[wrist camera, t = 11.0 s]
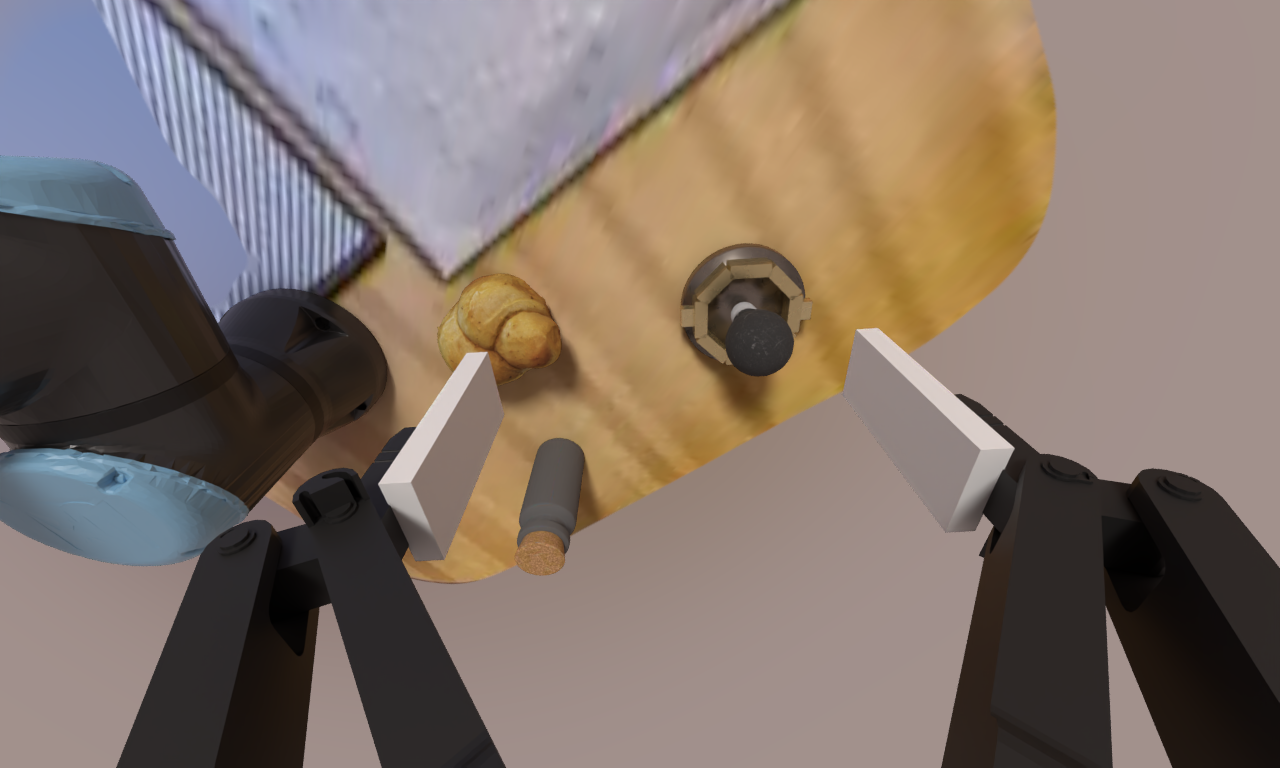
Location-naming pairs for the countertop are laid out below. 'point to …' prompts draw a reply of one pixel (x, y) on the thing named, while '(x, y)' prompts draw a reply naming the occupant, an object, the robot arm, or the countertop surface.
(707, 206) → the countertop surface
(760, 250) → the octagonal rimmed dish
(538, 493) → the bottle
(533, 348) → the bread roll
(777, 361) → the light bulb
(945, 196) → the countertop surface
